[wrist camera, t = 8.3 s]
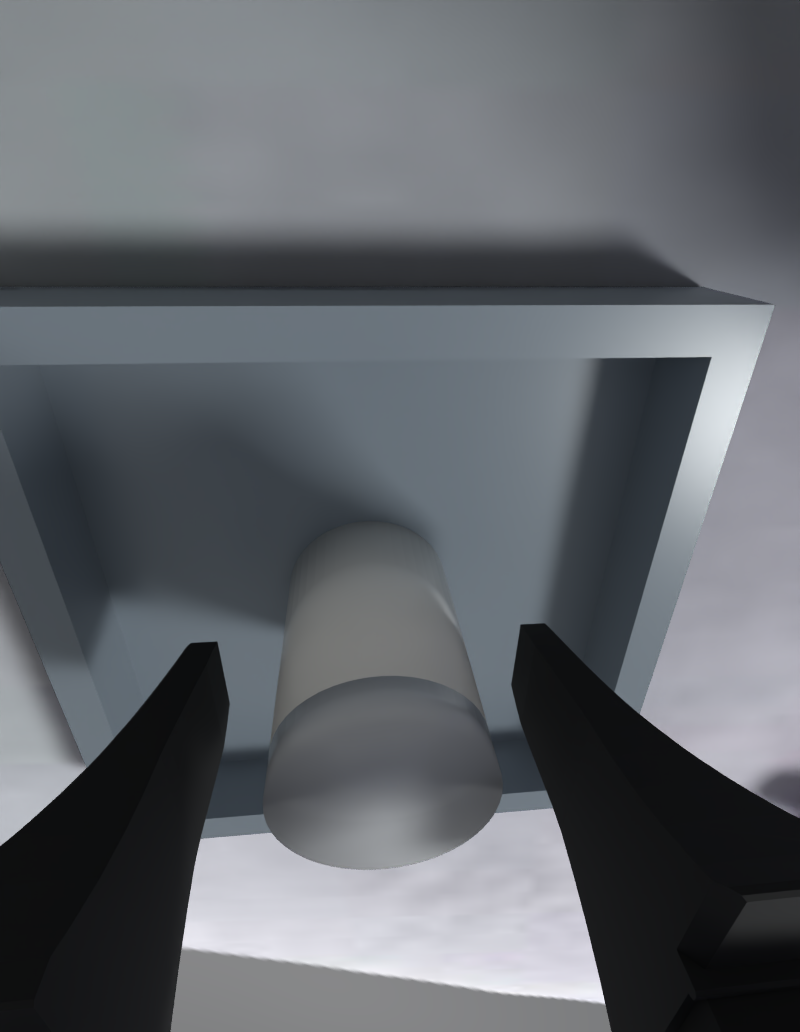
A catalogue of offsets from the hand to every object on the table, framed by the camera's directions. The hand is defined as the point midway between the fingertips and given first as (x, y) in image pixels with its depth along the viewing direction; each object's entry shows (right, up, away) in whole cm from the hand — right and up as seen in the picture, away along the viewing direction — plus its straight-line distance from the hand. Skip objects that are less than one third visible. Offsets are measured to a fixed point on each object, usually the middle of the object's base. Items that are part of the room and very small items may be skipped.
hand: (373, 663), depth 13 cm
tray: (0, +2, +3) cm, 3 cm away
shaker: (0, +2, +3) cm, 3 cm away
